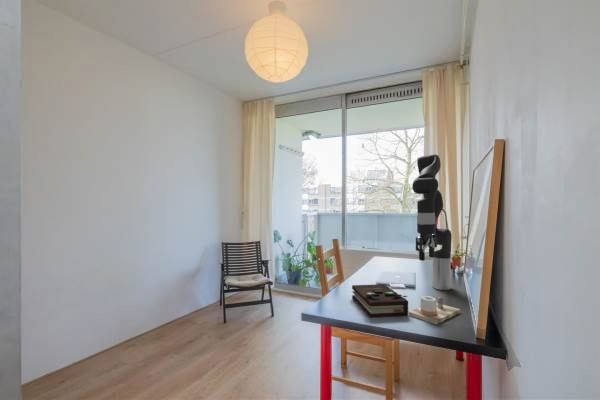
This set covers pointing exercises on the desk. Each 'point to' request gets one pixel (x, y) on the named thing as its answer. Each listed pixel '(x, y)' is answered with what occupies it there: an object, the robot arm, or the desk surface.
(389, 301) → the decorative book
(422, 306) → the sleeve
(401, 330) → the desk surface
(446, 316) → the pin board
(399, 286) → the hard drive
